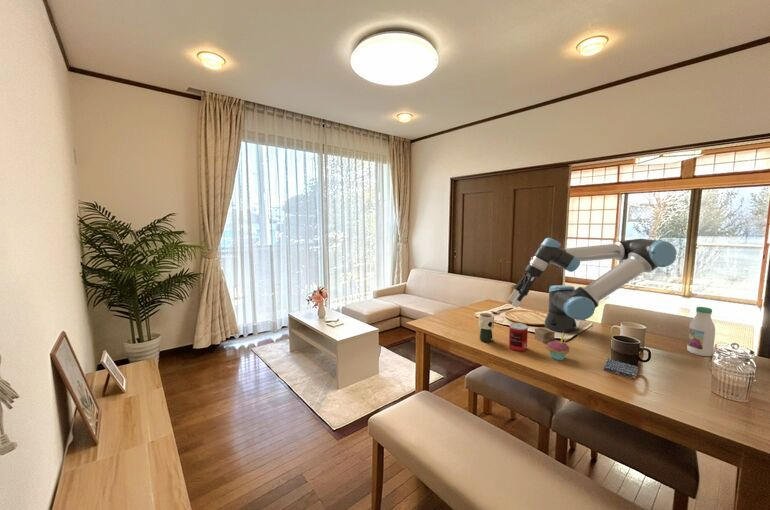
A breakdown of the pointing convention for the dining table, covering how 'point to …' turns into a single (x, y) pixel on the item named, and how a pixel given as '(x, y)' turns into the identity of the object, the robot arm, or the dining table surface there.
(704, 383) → the dining table surface
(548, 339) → the walnut block
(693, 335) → the milk bottle
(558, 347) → the cupcake
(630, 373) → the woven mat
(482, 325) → the character mug
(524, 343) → the canned food
